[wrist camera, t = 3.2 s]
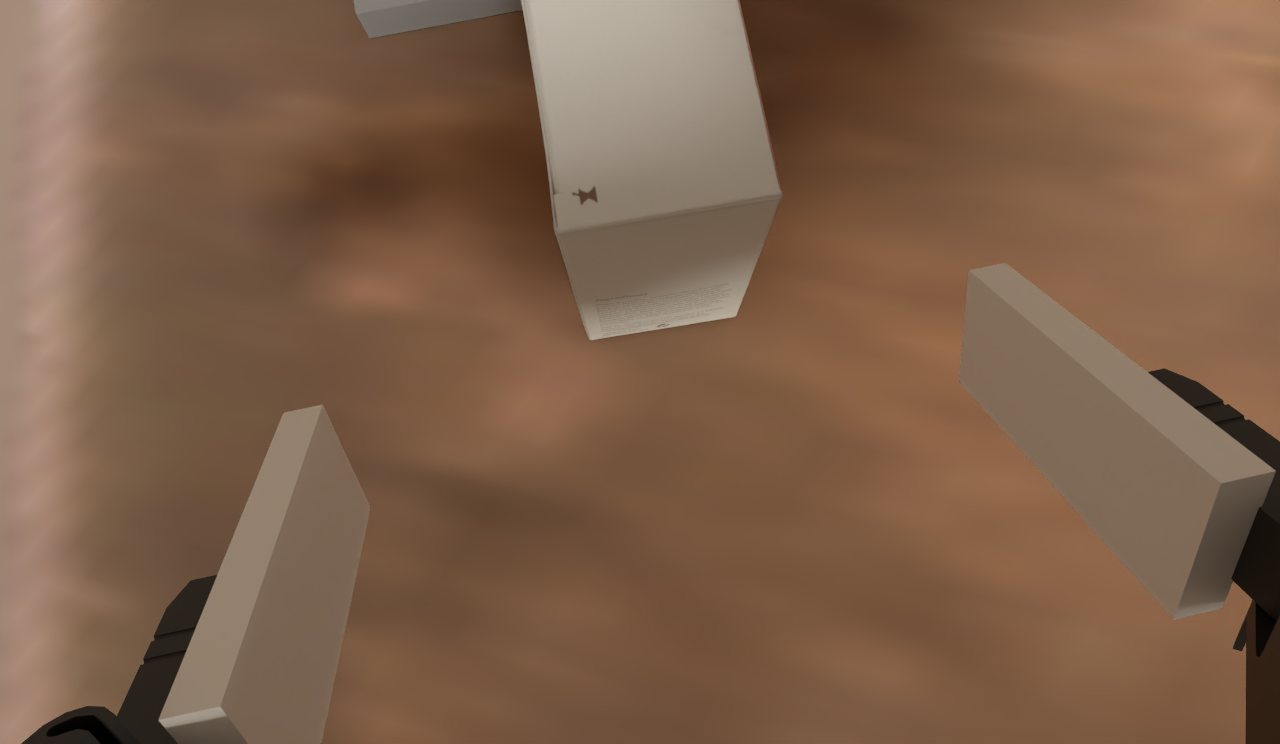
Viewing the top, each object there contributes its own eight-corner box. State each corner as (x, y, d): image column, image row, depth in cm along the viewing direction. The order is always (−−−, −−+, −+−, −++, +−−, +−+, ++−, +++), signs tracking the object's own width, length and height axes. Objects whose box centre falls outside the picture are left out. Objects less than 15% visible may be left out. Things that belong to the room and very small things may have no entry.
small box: (737, 320, 29) (790, 202, 18) (586, 344, 28) (553, 239, 18) (698, 122, 30) (727, -90, 20) (555, 143, 30) (508, -59, 20)
